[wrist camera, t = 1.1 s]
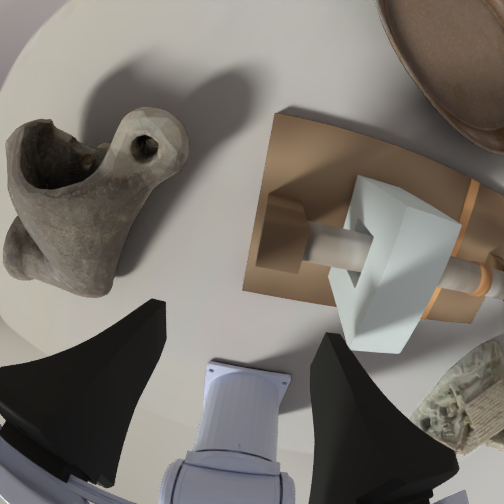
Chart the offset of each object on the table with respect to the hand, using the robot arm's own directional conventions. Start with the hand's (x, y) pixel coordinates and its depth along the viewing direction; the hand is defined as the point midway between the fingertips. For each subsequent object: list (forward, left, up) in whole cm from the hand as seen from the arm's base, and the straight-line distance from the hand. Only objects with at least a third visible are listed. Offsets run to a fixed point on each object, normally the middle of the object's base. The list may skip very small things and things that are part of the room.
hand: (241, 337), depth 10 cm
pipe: (+1, +13, -10) cm, 17 cm away
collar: (+3, -6, -8) cm, 11 cm away
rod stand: (+3, -10, -9) cm, 14 cm away
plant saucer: (+20, -12, -10) cm, 25 cm away
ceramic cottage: (-15, -30, -10) cm, 35 cm away
